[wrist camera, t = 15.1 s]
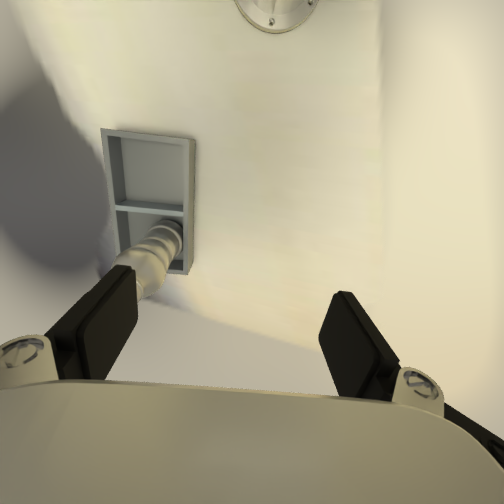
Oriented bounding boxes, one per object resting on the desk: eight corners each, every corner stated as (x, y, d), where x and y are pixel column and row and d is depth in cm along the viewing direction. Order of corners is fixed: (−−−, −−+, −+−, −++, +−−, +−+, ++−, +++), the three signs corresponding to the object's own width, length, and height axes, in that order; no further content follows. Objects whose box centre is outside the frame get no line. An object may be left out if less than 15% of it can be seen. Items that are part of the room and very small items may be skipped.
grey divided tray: (117, 130, 38) (100, 128, 33) (195, 140, 39) (189, 139, 34) (129, 257, 46) (117, 269, 42) (192, 262, 47) (187, 274, 43)
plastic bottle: (156, 252, 45) (98, 325, 27) (148, 217, 42) (77, 272, 24) (190, 250, 45) (156, 322, 27) (185, 215, 42) (142, 268, 24)
